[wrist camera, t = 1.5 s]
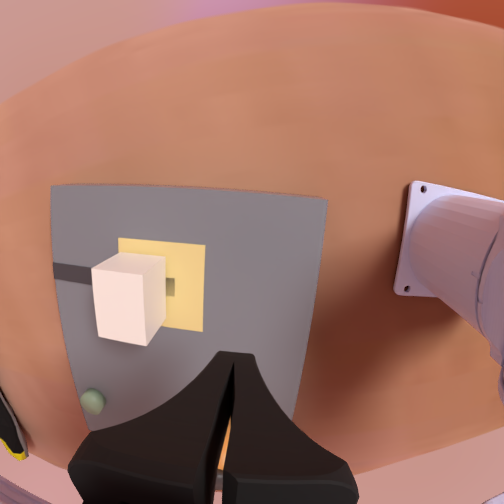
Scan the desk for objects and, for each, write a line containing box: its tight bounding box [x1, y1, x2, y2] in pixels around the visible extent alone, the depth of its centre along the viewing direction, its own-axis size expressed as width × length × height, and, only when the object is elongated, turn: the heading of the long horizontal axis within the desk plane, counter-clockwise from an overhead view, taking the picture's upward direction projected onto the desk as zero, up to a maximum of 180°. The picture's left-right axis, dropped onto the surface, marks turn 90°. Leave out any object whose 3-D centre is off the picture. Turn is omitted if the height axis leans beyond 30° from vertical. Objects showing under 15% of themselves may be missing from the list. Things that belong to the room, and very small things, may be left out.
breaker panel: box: [51, 184, 328, 431], centre depth 21 cm, size 18×22×4 cm
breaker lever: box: [91, 252, 166, 346], centre depth 17 cm, size 3×4×4 cm
